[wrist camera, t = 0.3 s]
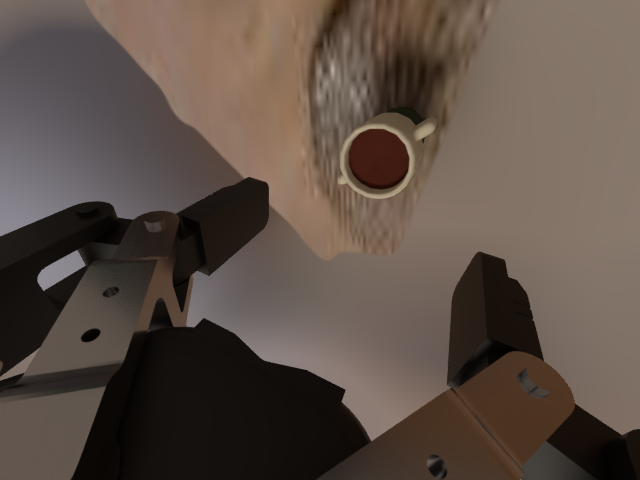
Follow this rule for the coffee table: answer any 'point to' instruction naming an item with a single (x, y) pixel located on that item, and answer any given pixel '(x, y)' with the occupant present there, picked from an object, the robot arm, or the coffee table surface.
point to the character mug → (384, 152)
